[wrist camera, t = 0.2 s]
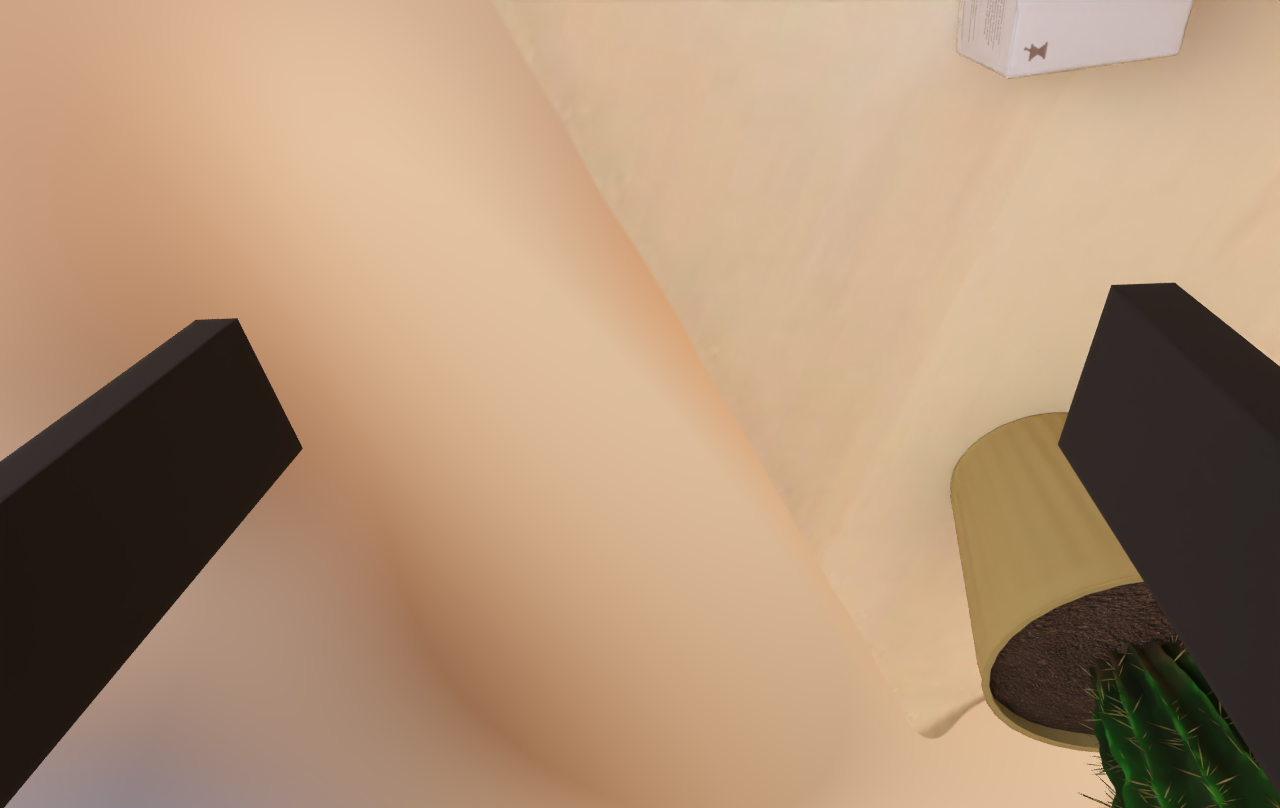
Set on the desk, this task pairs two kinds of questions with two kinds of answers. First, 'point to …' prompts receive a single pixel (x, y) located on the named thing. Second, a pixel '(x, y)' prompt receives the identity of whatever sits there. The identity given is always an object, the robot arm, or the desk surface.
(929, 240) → the desk surface
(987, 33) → the product box
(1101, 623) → the potted cactus
